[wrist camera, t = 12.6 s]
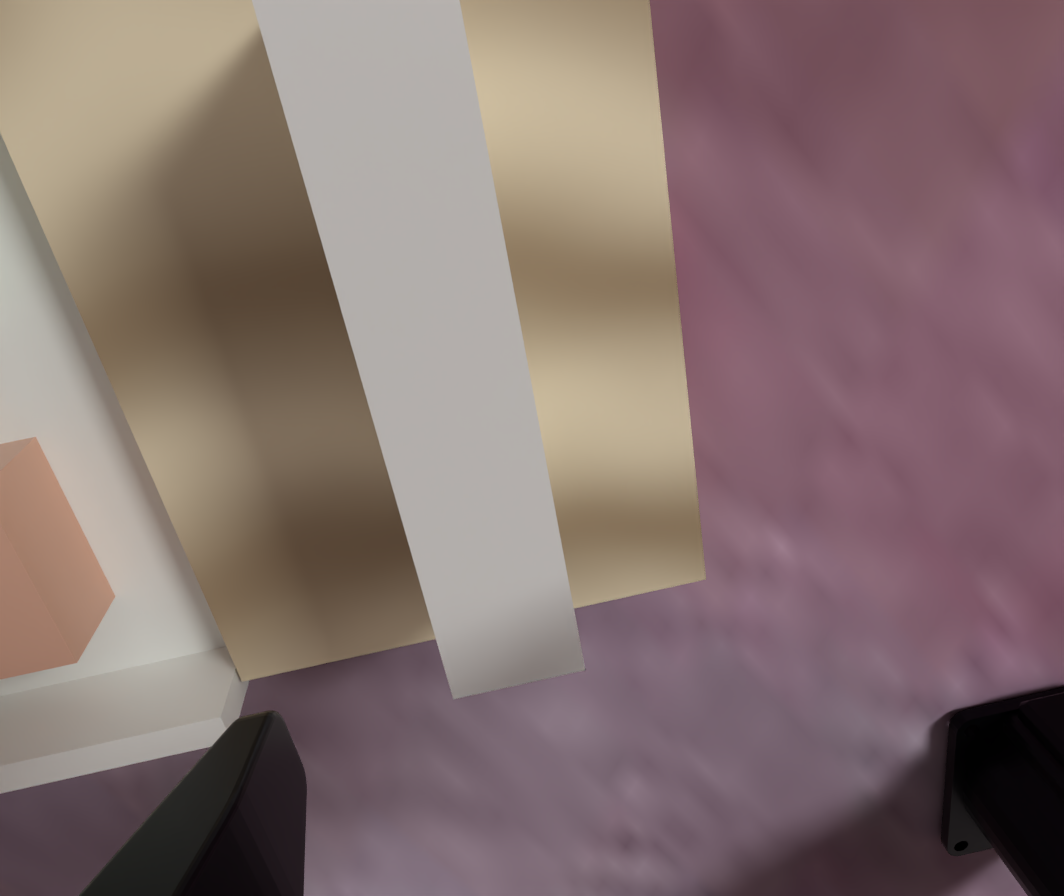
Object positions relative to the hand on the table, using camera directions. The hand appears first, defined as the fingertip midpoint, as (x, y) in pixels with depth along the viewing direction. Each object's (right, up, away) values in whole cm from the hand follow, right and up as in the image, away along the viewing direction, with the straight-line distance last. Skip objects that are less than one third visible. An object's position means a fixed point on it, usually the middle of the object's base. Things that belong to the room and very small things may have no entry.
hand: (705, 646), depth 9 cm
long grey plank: (-4, +5, +8) cm, 10 cm away
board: (-5, +6, +10) cm, 12 cm away
